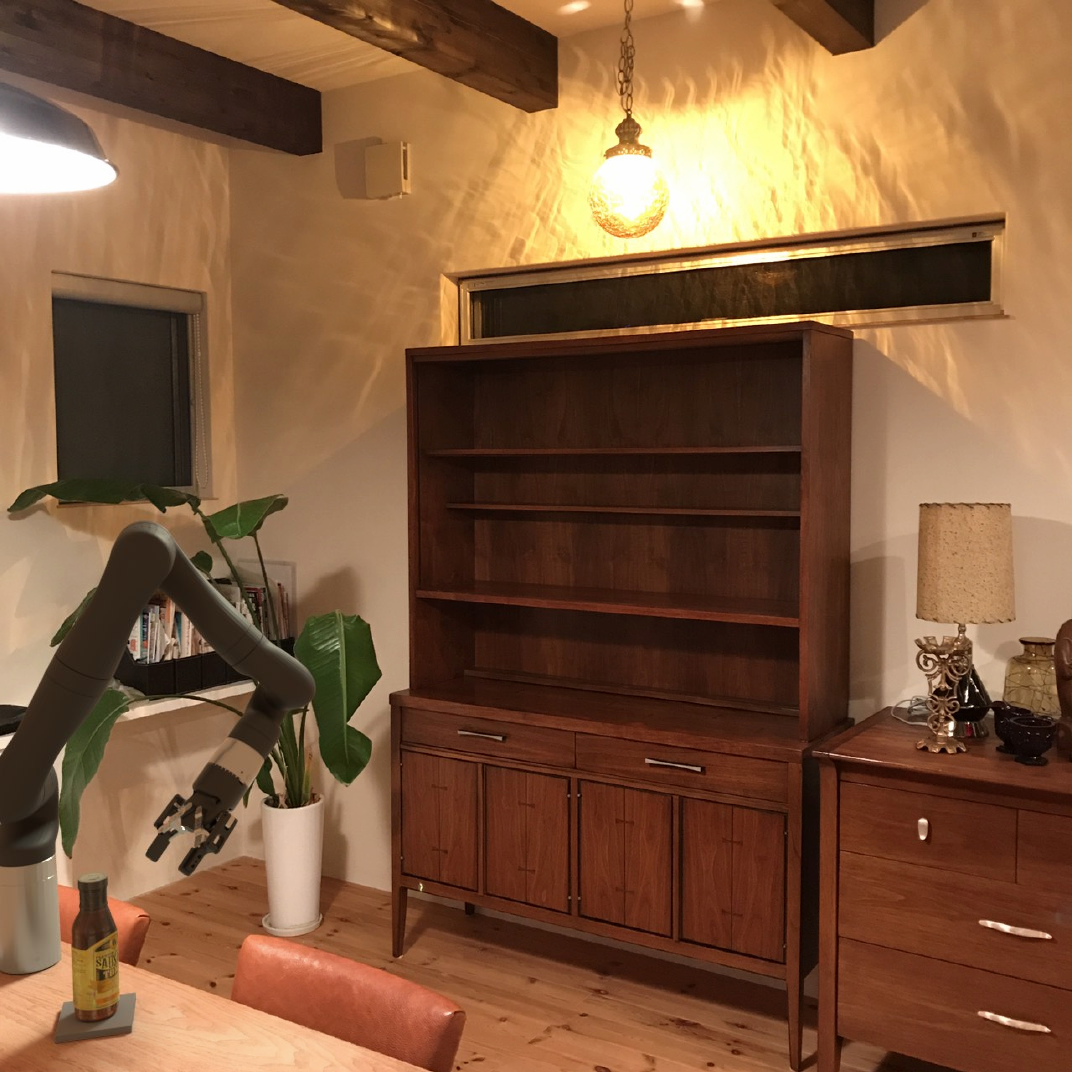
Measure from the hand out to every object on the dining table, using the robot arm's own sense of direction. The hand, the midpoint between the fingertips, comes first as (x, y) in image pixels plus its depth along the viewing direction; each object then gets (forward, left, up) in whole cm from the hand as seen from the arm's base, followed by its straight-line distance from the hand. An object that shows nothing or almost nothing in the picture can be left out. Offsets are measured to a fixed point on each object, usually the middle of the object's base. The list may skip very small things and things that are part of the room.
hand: (166, 866), depth 173 cm
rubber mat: (+7, -10, -19) cm, 23 cm away
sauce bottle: (+6, -10, -18) cm, 22 cm away
